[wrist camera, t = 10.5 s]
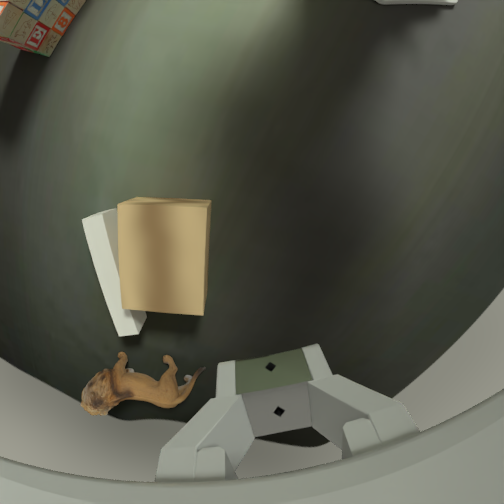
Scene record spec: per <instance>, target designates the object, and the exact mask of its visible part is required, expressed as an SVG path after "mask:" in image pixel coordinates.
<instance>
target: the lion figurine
mask: <svg viewBox="0 0 504 504" xmlns="http://www.w3.org/2000/svg"><path fill="white" fill-rule="evenodd" d="M118 357H119V359H120V360H119V361H118V362H117V363H116V364H115V366H114V368H113V369H104V370H103V371H102V372H98V373H97V374H96V375H95V377H93V378H92V379H91V380H90V381H89V382H88V384H87V385H86V387H85V388H84V389H83V392H82V402H81V407H83V408H84V410H86V411H88V413H90V414H91V415H101V416H102V415H107V414H108V411H109V410H110V409H111V408H113V407H114V406H116V405H118V404H119V403H120V401H123V400H126V399H133V400H140V401H147V402H150V403H153V404H155V405H157V406H159V407H163V408H172V407H175V406H177V404H179V403H181V402H182V401H184V400H185V399H186V398H187V396H188V395H189V393H190V392H191V390H192V388H193V385H194V383H195V380H196V378H197V377H198V375H199V374H200V373H202V371H204V370H205V369H206V368H205V367H200V368H199V369H198V370H197V371H196V372H195V373H194V375H193V377H192V376H190V375H186V376H185V377H184V380H185V382H187V383H186V384H185V385H183V386H179V387H178V385H177V381H176V378H175V374H176V372H177V370H178V369H177V367H176V365H175V363H174V361H173V359H172V357H170V356H169V355H164V356H163V362H164V363H166V364H169V369H168V370H167V371H166V372H165V373H164V374H163V375H162V377H161V379H160V381H156V380H154V379H153V378H151V377H149V376H148V375H145V374H142V373H135V372H134V370H133V369H131V368H127V369H125V365H126V363H127V362H128V359H127V355H126V354H125V353H124V352H119V354H118Z"/></svg>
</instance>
